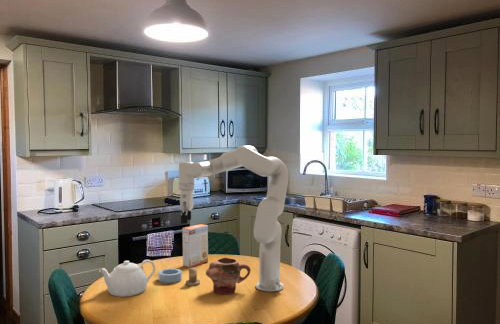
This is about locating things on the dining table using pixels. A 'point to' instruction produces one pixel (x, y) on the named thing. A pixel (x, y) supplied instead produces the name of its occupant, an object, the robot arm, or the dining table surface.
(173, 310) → the dining table surface
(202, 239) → the cracker box
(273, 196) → the robot arm
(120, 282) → the teapot
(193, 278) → the lid
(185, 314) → the dining table surface
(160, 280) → the blue faceted bowl
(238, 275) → the sculpted mug
